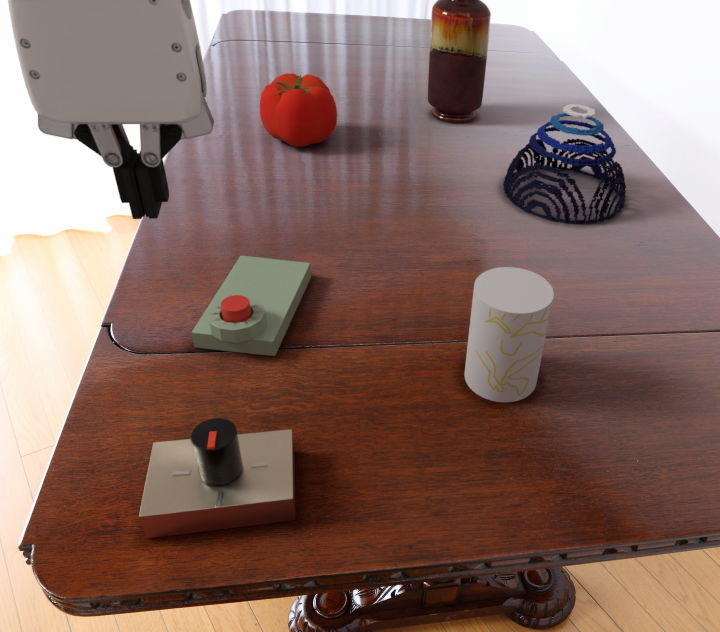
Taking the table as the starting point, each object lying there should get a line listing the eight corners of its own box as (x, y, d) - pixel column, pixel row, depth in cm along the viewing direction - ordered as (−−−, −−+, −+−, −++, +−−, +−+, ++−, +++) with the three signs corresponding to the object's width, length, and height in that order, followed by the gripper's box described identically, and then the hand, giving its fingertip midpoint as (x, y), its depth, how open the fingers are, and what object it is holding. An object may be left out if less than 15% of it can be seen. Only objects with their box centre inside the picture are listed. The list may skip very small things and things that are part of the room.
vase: (418, 107, 140) (424, -33, 124) (467, 103, 144) (479, -33, 128) (438, 127, 132) (448, -19, 116) (489, 123, 136) (505, -19, 121)
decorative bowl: (537, 157, 125) (549, 78, 116) (639, 190, 118) (660, 109, 109) (482, 195, 111) (491, 109, 102) (594, 236, 103) (615, 147, 95)
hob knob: (201, 455, 60) (192, 416, 57) (244, 451, 61) (237, 413, 58) (196, 487, 57) (186, 449, 54) (241, 483, 58) (234, 445, 55)
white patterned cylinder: (472, 405, 72) (483, 315, 65) (458, 355, 78) (467, 268, 71) (545, 399, 74) (564, 311, 67) (525, 351, 80) (541, 265, 73)
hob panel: (146, 539, 56) (138, 515, 54) (159, 464, 62) (152, 441, 60) (295, 520, 59) (292, 497, 57) (294, 450, 65) (292, 427, 63)
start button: (246, 325, 74) (244, 312, 73) (218, 322, 74) (216, 309, 73) (254, 308, 76) (253, 296, 75) (228, 306, 76) (226, 293, 75)
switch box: (272, 362, 75) (269, 333, 72) (191, 353, 75) (184, 324, 72) (311, 277, 88) (309, 250, 86) (242, 269, 88) (238, 243, 86)
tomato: (271, 122, 127) (265, 65, 120) (342, 127, 128) (341, 71, 122) (254, 152, 116) (247, 91, 110) (332, 157, 117) (330, 97, 111)
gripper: (227, -78, 43) (256, 184, 54) (-42, -96, 40) (48, 188, 51) (218, -56, 38) (253, 232, 49) (-97, -75, 34) (18, 240, 45)
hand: (148, 209), depth 50 cm, fingers closed
